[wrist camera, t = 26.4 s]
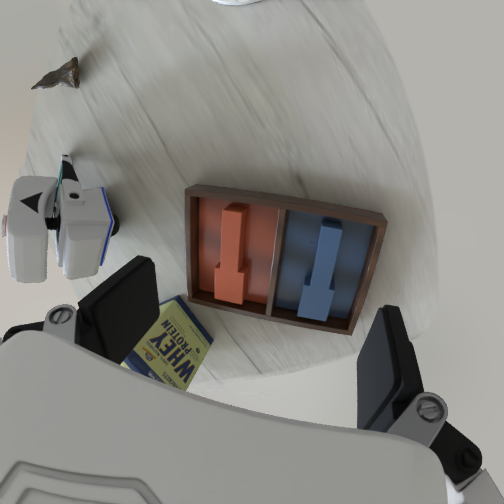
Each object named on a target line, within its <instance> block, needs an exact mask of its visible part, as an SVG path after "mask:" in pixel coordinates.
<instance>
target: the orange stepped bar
mask: <svg viewBox="0 0 504 504" xmlns="http://www.w3.org/2000/svg"><path fill="white" fill-rule="evenodd" d="M246 215H247V207H240V206H233V205H228V206H227V207H226V208H224V209H223V210H222V232H221V260H220V262H219V263H218V264H217V266H216V267H215V299H219V300H224V301H228V302H232V303H237V304H242V303H243V301H244V299H245V297H246V290H247V278H248V266H246V265H243V255H244V241H245V228H246Z"/></svg>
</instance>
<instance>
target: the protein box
mask: <svg viewBox="0 0 504 504" xmlns="http://www.w3.org/2000/svg"><path fill="white" fill-rule="evenodd" d="M159 307H160V316H159V318H158V320H157V321H156V322H155V323H154V324H153V326H152V327H151V328H150V329H149V330H148V332H147V333H146V334H145V335H144V336H143V338H142V339H141V340H140V341H139V343H138V344H137V345H136V346H135V347H134V349H133V350H132V351H131V352H130V354H129V355H128V356H127V357H126V358H125V360H124V361H123V362H122V363H121V366H123V367H125V368H127V369H130V370H132V371H134V372H137V373H139V374H141V375H144V376H146V377H149V378H151V379H154V380H156V381H159V382H162V383H164V384H167V385H169V386H172V387H175V388H178V389H181V390H183V391H186V390H187V388H188V386H189V384H190V383H191V381H192V379H193V377H194V375H195V374H196V372H197V370H198V368H199V366H200V365H201V363H202V361H203V359H204V357H205V355H206V354H207V352H208V350H209V348H210V346H211V344H212V343H213V340H212V338H211V337H210V336H209V335H208V333H207V332H206V331H205V329H204V328H203V327H202V325H201V324H200V323H199V322H198V320H197V319H196V318H195V316H194V315H193V314H192V312H191V311H190V310H189V308H188V307H187V306H186V304H185V303H184V302H183V300H182V299H181V297H180V296H179V295H178V296H175V297H173V298H171V299H169V300H167V301H165V302H162V303H160V304H159Z"/></svg>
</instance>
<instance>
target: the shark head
mask: <svg viewBox="0 0 504 504" xmlns="http://www.w3.org/2000/svg"><path fill="white" fill-rule="evenodd" d="M77 70H78V59H77V57H74V58H72V59H71V61H69V62H67V63H65V64H64V65H63V66H62V67H60V68H59V69H58V70H56V71H52V72H49V73H48V74H46V75H45V76H44V77H43V78H42V80H40V81H39V82H38V83H37V84H36V85H34V86H33V87H32V88H31V89H36V88H43V89H45V88H52V87H54V86H56V85H58V84H61V86H63V85H65V86H69V87H73V88H77V89H78V88H79V84H80V80H79V77H78V71H77Z"/></svg>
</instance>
